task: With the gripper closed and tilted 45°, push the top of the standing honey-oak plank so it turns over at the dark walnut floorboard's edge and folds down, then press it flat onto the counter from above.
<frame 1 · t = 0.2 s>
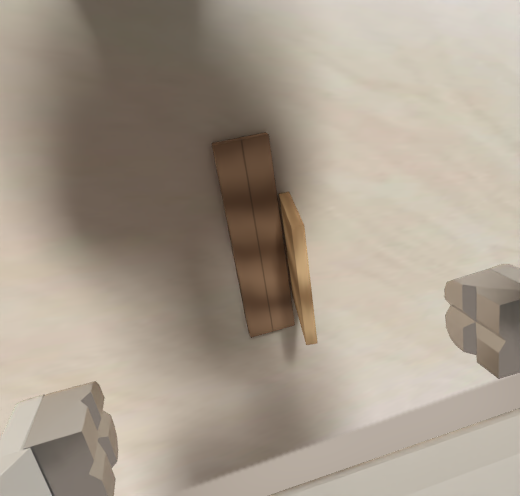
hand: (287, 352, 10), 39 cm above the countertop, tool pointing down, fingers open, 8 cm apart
oak plank: (297, 266, 48), point 6 cm above the countertop, hinge at 100.0°
walnut floorboard: (256, 241, 52), on the countertop
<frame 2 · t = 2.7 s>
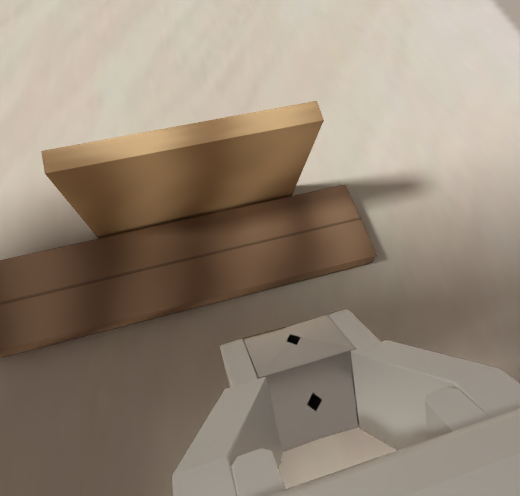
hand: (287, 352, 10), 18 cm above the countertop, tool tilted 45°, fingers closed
oak plank: (193, 178, 26), point 6 cm above the countertop, hinge at 100.0°
walnut floorboard: (188, 266, 30), on the countertop
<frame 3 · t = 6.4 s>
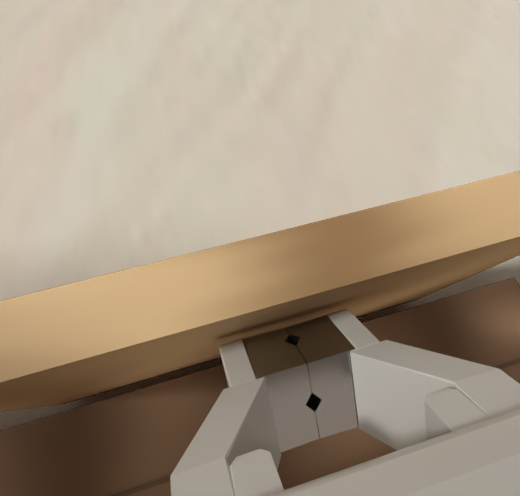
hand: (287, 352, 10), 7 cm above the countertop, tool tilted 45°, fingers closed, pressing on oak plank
oak plank: (259, 312, 12), point 6 cm above the countertop, hinge at 98.7°, touching gripper
walnut floorboard: (238, 455, 15), on the countertop
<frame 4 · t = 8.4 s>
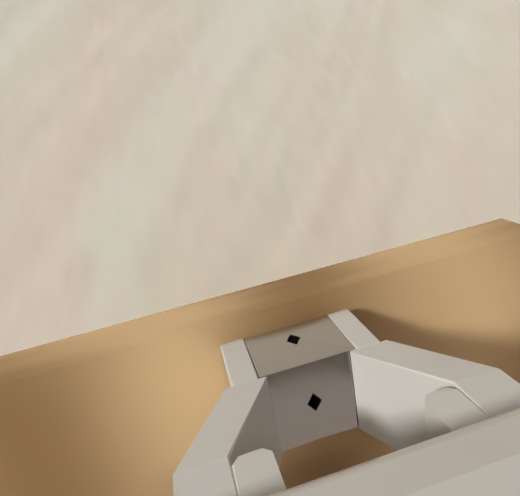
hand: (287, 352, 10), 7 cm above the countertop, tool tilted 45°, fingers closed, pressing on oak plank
oak plank: (292, 460, 12), point 4 cm above the countertop, hinge at 44.5°, touching gripper
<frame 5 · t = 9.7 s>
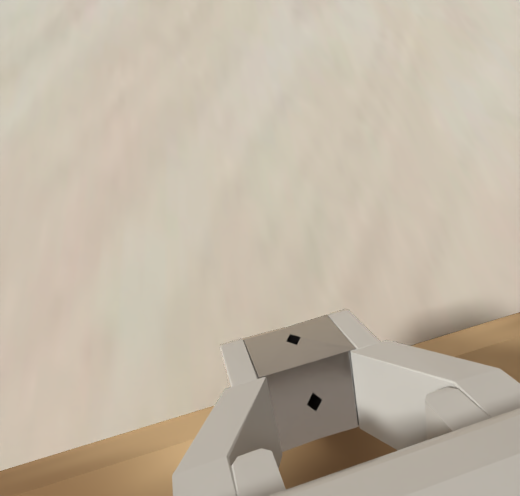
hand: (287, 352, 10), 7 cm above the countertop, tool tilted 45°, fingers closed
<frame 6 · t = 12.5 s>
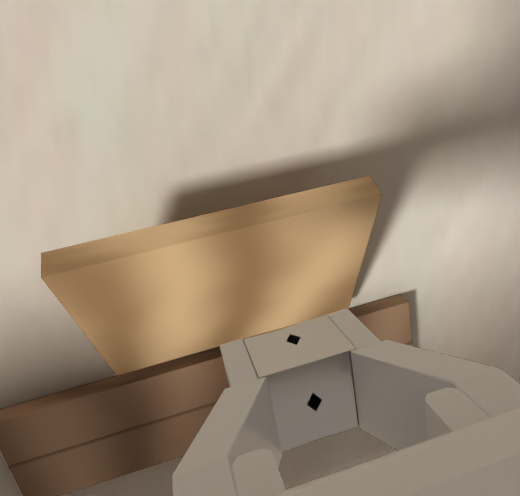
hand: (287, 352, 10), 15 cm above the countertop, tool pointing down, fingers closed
oak plank: (228, 287, 22), point 3 cm above the countertop, hinge at 33.9°
walnut floorboard: (223, 388, 27), on the countertop
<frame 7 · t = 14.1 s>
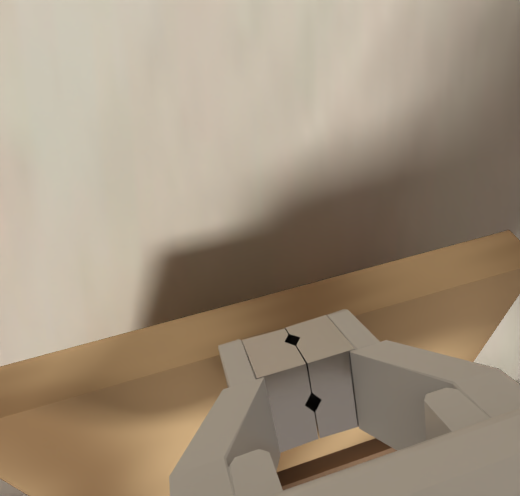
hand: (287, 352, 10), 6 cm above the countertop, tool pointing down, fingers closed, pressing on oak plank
oak plank: (270, 405, 14), point 3 cm above the countertop, hinge at 28.6°, touching gripper
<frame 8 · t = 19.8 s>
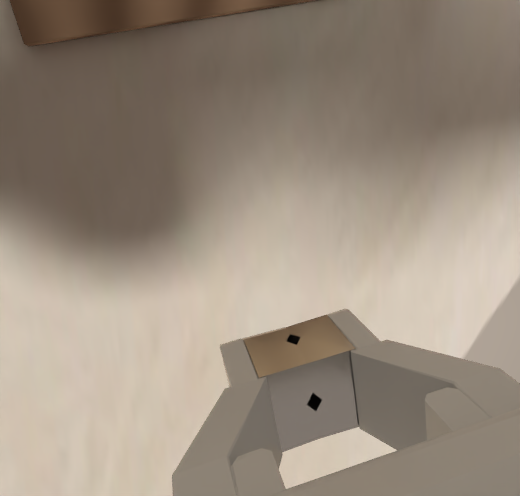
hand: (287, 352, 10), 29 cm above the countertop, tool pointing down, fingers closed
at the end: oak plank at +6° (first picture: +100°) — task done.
